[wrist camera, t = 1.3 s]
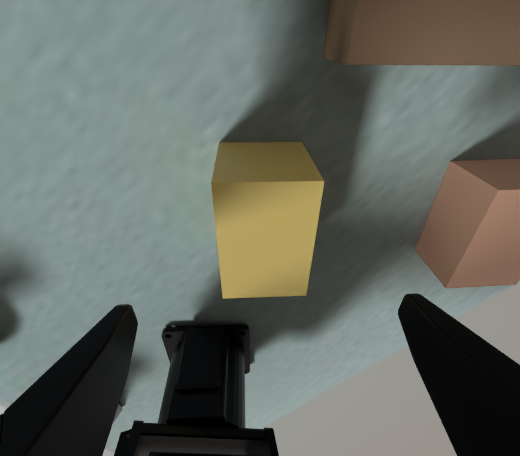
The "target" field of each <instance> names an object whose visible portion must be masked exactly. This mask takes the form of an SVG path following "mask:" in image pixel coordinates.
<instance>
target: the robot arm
mask: <svg viewBox="0 0 520 456" xmlns="http://www.w3.org/2000/svg"><path fill="white" fill-rule="evenodd" d="M398 316H399V319H400V322H401V325H402V328H403V331H404V334H405V337H406V340H407V343H408V346H409V349H410V351H411V354H412V357H413V360H414V362H415V364H416V367H417V369H418V371H419V373H420V375H421V378H422V380H423V382H424V384H425V386H426V389H427V391H428V393H429V395H430V397H431V400H432V401H433V404H434V406H435V408H436V410H437V413H438V415H439V417H440V419H441V421H442V424H443V426H444V428H445V430H446V432H447V434H448V437H449V439H450V441H451V443H452V445H453V447H454V450H455V452H456V454H457V456H520V365H519V364H518V363H516V362H515V361H513V360H512V359H511V358H509V357H508V356H506V355H505V354H504V353H502V352H501V351H499V350H498V349H496V348H495V347H494V346H492V345H491V344H489V343H488V342H487V341H485V340H484V339H482V338H481V337H480V336H478V335H477V334H475V333H474V332H472V331H471V330H470V329H468V328H467V327H465V326H464V325H463V324H461V323H460V322H458V321H457V320H456V319H454V318H453V317H451V316H450V315H449V314H447V313H446V312H444V311H443V310H442V309H440V308H439V307H437V306H436V305H434V304H433V303H432V302H430V301H429V300H427V299H426V298H425V297H423V296H422V295H420V294H406V295H405V296H404V298H403V300H402V303H401V305H400V307H399V309H398ZM137 326H138V322H137V318H136V316H135V313H134V310H133V308H132V306H131V305H129V304H124V305H117V306H115V307H114V308H113V309H112V310H111V311H110V312H109V313H108V314H107V315H106V316H104V317H103V318H102V319H101V320H100V321H99V322H98V323H97V324H96V325H95V326H94V327H93V328H92V329H91V330H90V331H89V332H88V333H86V334H85V335H84V336H83V337H82V338H81V339H80V340H79V341H78V342H77V343H76V344H75V345H74V346H73V347H72V348H71V349H70V350H69V351H67V352H66V353H65V354H64V355H63V356H62V357H61V358H60V359H59V360H58V361H57V362H56V363H55V364H54V365H53V366H52V367H51V368H49V369H48V370H47V371H46V372H45V373H44V374H43V375H42V376H41V377H40V378H39V379H38V380H37V381H36V382H35V383H34V384H33V385H32V386H30V387H29V388H28V389H27V390H26V391H25V392H24V393H23V394H22V395H21V396H20V397H19V398H18V399H17V400H16V401H15V402H14V403H12V404H11V405H10V406H9V407H8V408H7V409H6V410H5V412H4V414H1V415H0V456H102V455H103V452H104V449H105V445H106V442H107V439H108V436H109V433H110V430H111V427H112V423H113V420H114V417H115V414H116V411H117V408H118V404H119V401H120V398H121V395H122V392H123V389H124V386H125V382H126V379H127V375H128V371H129V366H130V362H131V357H132V352H133V347H134V342H135V337H136V332H137ZM162 339H163V342H164V345H165V348H166V352H167V355H168V358H169V361H170V368H169V373H168V377H167V382H166V387H165V392H164V396H163V401H162V406H161V410H160V415H159V420H158V424H157V423H143V422H144V421H135V420H134V423H133V426H132V429H130V430H127V431H124V432H121V434H120V437H119V441H118V444H117V447H116V451H115V454H114V456H279V455H278V450H277V445H276V440H275V435H274V430H273V428H264V429H250V428H245V374H247V373H249V371H250V360H249V327H248V326H247V325H244V324H239V325H215V326H191V327H168V328H165V329H163V332H162Z"/></svg>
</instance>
